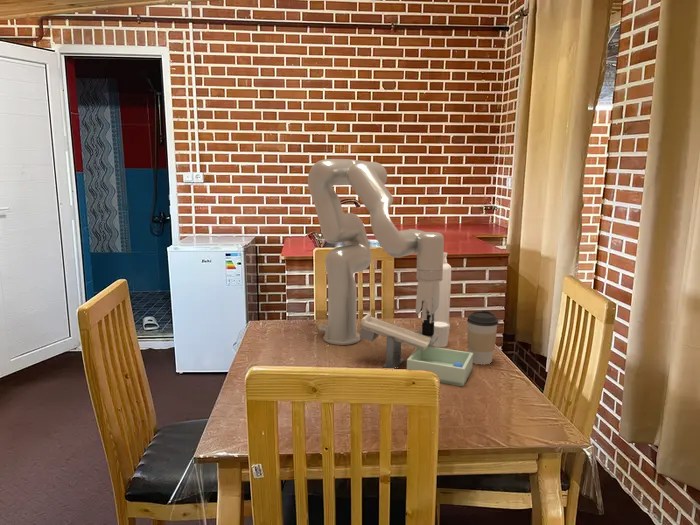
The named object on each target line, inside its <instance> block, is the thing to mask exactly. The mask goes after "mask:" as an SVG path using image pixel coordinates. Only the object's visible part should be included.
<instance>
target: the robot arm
mask: <svg viewBox="0 0 700 525" xmlns="http://www.w3.org/2000/svg"><path fill="white" fill-rule="evenodd" d="M387 180H388V172H387V170H386V168H385V167H384V166H383V165H382V164H381V163H380V162H376V161H367V160H366V161H365V160H359V159H358V160H357V159H349V158H347V159H346V158H325V159H320V160H318V161H317V162H315V163H314V164H312V166H311V168H310V169H309V172H308V176H307V186H308V191H309V193H310V196H311V198H312V201H313V204H314V207H315V212H316V215H317V218H318V219H317V220H318V223H319V226H320V230H321V235H322V237H323V239H324V241H326V242H327V243H328V244H339V243H343V244H344V245H341V246H337V247H335V248H332V249H331V250H329V251H328V253H327V254H326V255H325V258H324V259H325V260H324V262H325V263H324V266H325V271H326V277H327V294H328V295H327V302H328V303H327V324H325V323H320V322H319V323H318V326H317V329H318V331H319V332H324V334H323V340H324V341H325V342H326V343H328V344H331V345H336V346H337V345H338V346H346V345H347V346H348V345H353V344H356V343H359V342H360V341H361V340H362V338H360V333H359V332H357V308H358V305H357V304H358V302H357V300H358V299H357V296H358V294H357V293H358V290H357V288H358V287H357V283H356V280H355V277H354V274H356V273H359V272H363V271H365V270H367V269H368V268H369V267H370V266H371V263H372V251H371V247H370V243H369V238H368V236H367V231H366V227H365V225H364V222H363V221H362V219H361V218H360V216H358V215H357V214H356V213H353V212H344V210H343V207H342V206H343V205H342V202H341V199H340V198H339V195H338V194H337V193H336V191H335V190H334V188H333V186H350V187H351V188H352V189H353V191H354V192H355V194H356V195H357V197H358V198H359V199H360V201H361V202H362V204H363V205H364V207H365V209H367V211H368V212H369V220H370V225H371V231H372V233H373V235H374V237H375V239H376V241H377V242H378V243H379V245H380V246H381V248H382V250H384V252H386V254H388V255H389V256H390V257H393V258H398V259H399V258H404V257H406V256H410V255H416V280H417V281H418V282H417V286H416V287H417V288H416V297H415V298H416V299H415V300H416V301H415V313H416V315H419V314H420V313H421V321H422V322H421V323H422V324H421V330H422V335H425V336H433V334H434V322H432V321H434V316H435V311H436V310H437V309H438V307H439V296H440V284H439V282H440V281H442V280H443V252H444V250H445V249H444V245H445V244H444V241H445V240H444V239H445V237H444V235H443V233H441V232H436V231H423V230H420V229H417V228H409V229H402V230H399V229H398V228H397V226H396V225H395V224H394V222H393V221H392V219H391V217H390V214H389V208H390V207H391V205H392V204H393V203H394V197H393V195H392V193H391V192H390V191H389V189H388V188H387V186H386V185H385V184H386V183H387Z"/></svg>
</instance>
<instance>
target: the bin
mask: <svg viewBox="0 0 700 525" xmlns="http://www.w3.org/2000/svg"><path fill="white" fill-rule="evenodd" d="M456 362H460V363H462V364H463V367H462V368H461V367H455V366H453V365H454V363H456ZM407 369H411V370H428V371H432V372H434V373H436V374H437V375H438V376H439V378H440V382H439V383H440V384H445V385H446V384H447V385H452V386H457V387H465V384H466V383H467V381H468V379H469V376H470V375H471V372H472V371H473V353H470V352H468V351H462V350H457V349H451V348H444V347H435V346H432V345H428V346H427V348H426V349H425V350H424V351H423V350H420V349H418V348H415V350H414V351H413V352H412V353H411V354H410V356H409V357H408V358H407V359H406V370H407ZM442 382H443V383H442Z"/></svg>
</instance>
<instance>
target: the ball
mask: <svg viewBox="0 0 700 525" xmlns="http://www.w3.org/2000/svg"><path fill="white" fill-rule="evenodd" d="M453 366H455V367H461V368H462V367H463V364H462V363H460V362H456V363H454V365H453Z"/></svg>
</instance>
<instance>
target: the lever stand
mask: <svg viewBox="0 0 700 525" xmlns="http://www.w3.org/2000/svg"><path fill="white" fill-rule="evenodd" d="M385 343H386V346H385V347H386V349H385V352H386V353H385V363H384V364H383V365H382V369H383V368H394V369H397V370H398V369H399V368H400V367H401V365H402V364H403V363H404V362H405V358H403V357H402V344H403V343H401V342H398V341H396V340H394V338H390V337H386V342H385ZM395 367H396V368H395ZM397 367H399V368H397Z"/></svg>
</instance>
